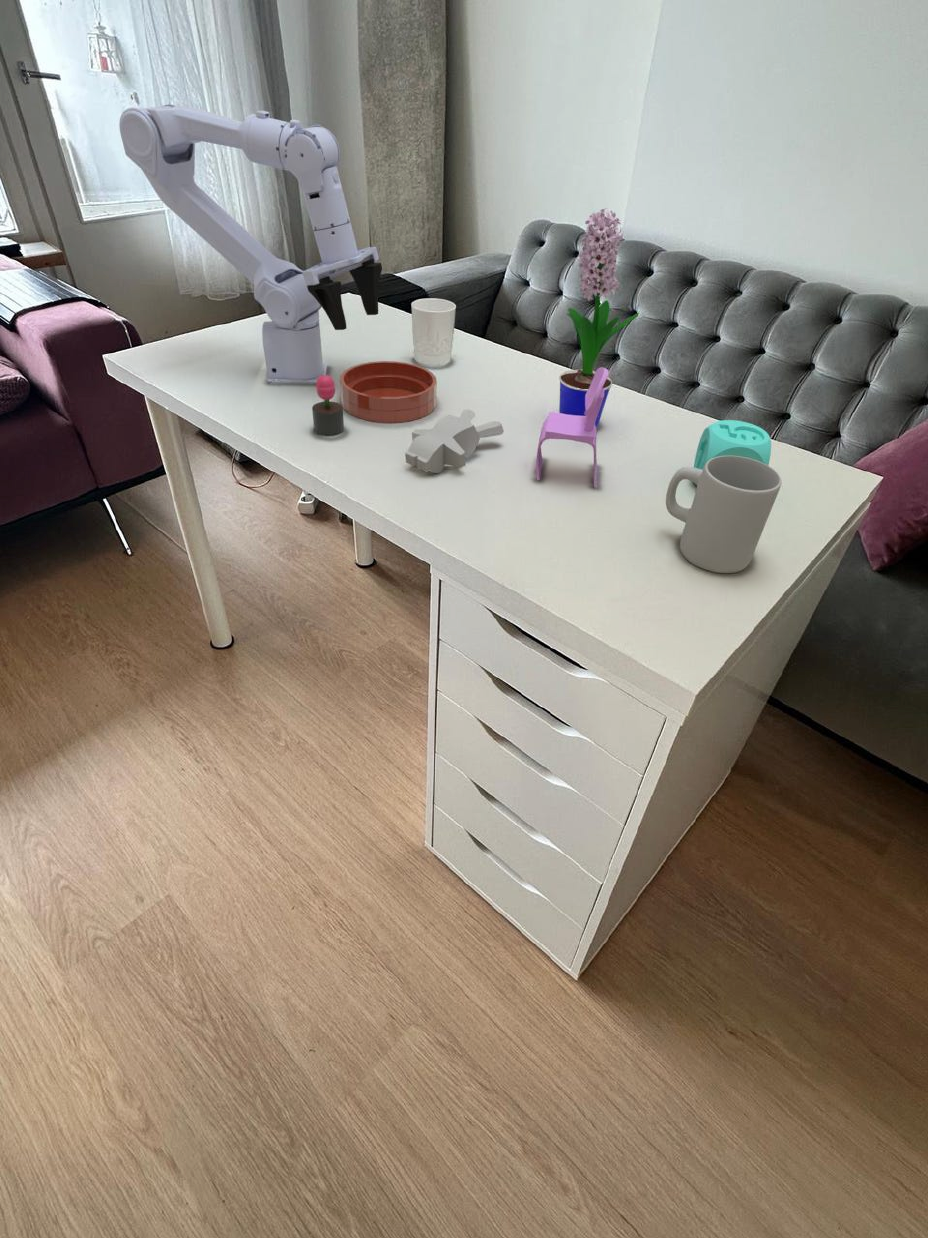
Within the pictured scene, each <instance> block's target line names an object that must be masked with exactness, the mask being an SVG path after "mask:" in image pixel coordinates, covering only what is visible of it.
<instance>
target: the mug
mask: <svg viewBox="0 0 928 1238" xmlns="http://www.w3.org/2000/svg"><path fill="white" fill-rule="evenodd" d="M780 475H781V474H779V472H778V471H777V470H776V469H774V468H773V467H771V466H769V465H766V464H764V463H762V462H759V461H757V460H754V459H750V458H746V457H740V456H719V457H715V458H712V459H710V460H709V461H708V462H707V463H706V464H705V466H704V469H703V470H702V469H698V468H694V466H684V467H681V468H679V469H677V471H675V473H674V474H673V476H672V477H671V479H670V481H669V483H668V485H667V489H666V495H665V507H666V511H667V512H668V513H669V514H670V516H672V517H673V518H675V519H677V520H679V521H681V522H683V523H685V524H684V528H683V530H682V533H681V537H680V541H679V550H680V552H681V554H682V556H683V557H684V558H685V559H686V560H687V561H688V562H689V563H691V564H692V565H694V566H696V567H698V568H700V569H703V570H705V571H709V572H713V573H719V574H734V573H739V572H741V571H743V570H744V569H746V568H748V566H749V565H750V563H751V562H752V559H753V557H754V554H755V551H756V549H757V547H758V544H759V541H760V538H761V536H762V534H763V530H764V528H765V526H766V524H767V522H768V519H769V516H770V514H771V512H772V509H773V507H774V504H775V502H776V500H777V497H778V494H779V492H780V489H781V486H782V478H781V476H780ZM683 480H688V481H690V482H692V483H693V484H695V485H696V489H695V494H694V497H693V500H692V504H691V506H690V508H688V507H683V506H681V505H679V503H678V502H677V498H676V496H677V495H676V494H677V489H678V486H679V485H680V482H682V481H683Z"/></svg>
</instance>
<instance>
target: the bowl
mask: <svg viewBox="0 0 928 1238" xmlns="http://www.w3.org/2000/svg"><path fill="white" fill-rule="evenodd" d="M437 385H438V382H437V377H436V375H435V374H434V373H433V372H432V371H430V370H429V369H427V368H425V367H422V366H420V365H417V364H413V363H409V362H405V361H394V360H393V361H392V360H380V361H368V362H364V363H359V364H356V365H353V366H350V367H348V368H347V369H345V370H344V371H343V372H342V373H341V375H340V377H339V388H340V401H341V403H340V404H341V405H342V407H343V410H344V411H345V412H347V413H348V414H349V415H352V416H353V417H356V418H358V419H361V420H365V421H368V422H374V423H382V424H398V423H407V422H413V421H417V420H419V419H422V418H424V417H427V416H428V415H430V414H431V413H433V412H434V410H435V409H436V407H437V392H438V391H437V387H438V386H437Z"/></svg>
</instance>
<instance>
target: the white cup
mask: <svg viewBox="0 0 928 1238" xmlns="http://www.w3.org/2000/svg"><path fill="white" fill-rule="evenodd" d="M410 305H411V329H412V342H413V343H412V344H413V357H414V358H413V359H414V361H415V362H416V363H419V364H422V365H425V366H431V367H432V366H442V365H446V364H448V363H450V362H451V359H452V357H451V356H452V349H453V342H454V334H455V324H456V323H455V322H456V313H457V312H456V310H457V305H456V304H455V303H454V302H452V301H451V300H448V299H443V298H433V297H432V298H430V297H429V298H428V297H427V298H426V297H425V298H419V299H416V300H414V301H412V302H411V303H410Z"/></svg>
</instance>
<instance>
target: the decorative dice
mask: <svg viewBox="0 0 928 1238" xmlns="http://www.w3.org/2000/svg"><path fill="white" fill-rule="evenodd" d="M771 455H772V439H771V437H770V434H769V433H768V432H767V431H766V430H765V429H763V428H762V427H760V426H758V425H755V424H753V423H750V422H747V421H742V420H736V419H722V420H718V421H715V422H713V423H712V424H710V425H708V426H707V427H705V428H704V430H703V432H702V434H701V436H700V438H699V441H698V445H697V448H696V453H695V458H694V461H693V462H694V463H693V468H698V469H702V470H703V469H704V466H705V464H706V463H707V462H708V461H709V460H710V459H712V458H715V457H719V456H740V457H746V458H750V459H754V460H757V461H759V462H762V463H764V464H766V465H768V466H769V465H770V460H771Z"/></svg>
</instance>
